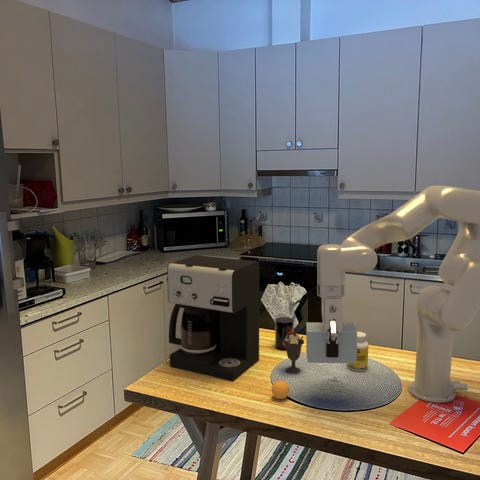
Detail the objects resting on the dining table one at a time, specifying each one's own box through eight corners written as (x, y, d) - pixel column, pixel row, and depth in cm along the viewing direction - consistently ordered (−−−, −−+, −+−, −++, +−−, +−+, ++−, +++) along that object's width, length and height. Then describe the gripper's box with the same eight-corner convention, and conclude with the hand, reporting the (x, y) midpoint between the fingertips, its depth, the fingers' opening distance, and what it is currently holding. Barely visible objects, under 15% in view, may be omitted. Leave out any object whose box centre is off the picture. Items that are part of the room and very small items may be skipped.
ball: (268, 384, 141) (279, 397, 141) (267, 392, 136) (278, 405, 136) (281, 374, 140) (292, 387, 140) (281, 382, 135) (292, 395, 135)
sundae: (279, 368, 159) (279, 324, 156) (297, 365, 161) (298, 321, 159) (288, 376, 152) (288, 330, 150) (307, 373, 155) (308, 328, 152)
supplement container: (278, 351, 173) (278, 323, 171) (272, 344, 179) (272, 317, 177) (296, 349, 174) (296, 321, 173) (289, 343, 181) (289, 316, 179)
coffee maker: (158, 365, 161) (155, 262, 156) (190, 345, 178) (188, 252, 173) (232, 382, 148) (231, 271, 143) (259, 359, 165) (259, 259, 160)
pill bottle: (344, 369, 157) (345, 335, 155) (350, 362, 163) (351, 329, 161) (364, 373, 154) (366, 338, 152) (369, 366, 160) (370, 332, 158)
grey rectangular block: (352, 352, 138) (353, 322, 137) (356, 363, 131) (357, 332, 129) (306, 351, 140) (306, 322, 138) (307, 362, 132) (307, 331, 131)
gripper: (349, 298, 123) (348, 364, 126) (341, 282, 140) (341, 339, 143) (319, 298, 124) (319, 363, 127) (315, 282, 141) (315, 339, 144)
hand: (330, 350), depth 135 cm, fingers closed on grey rectangular block, 7 cm apart
